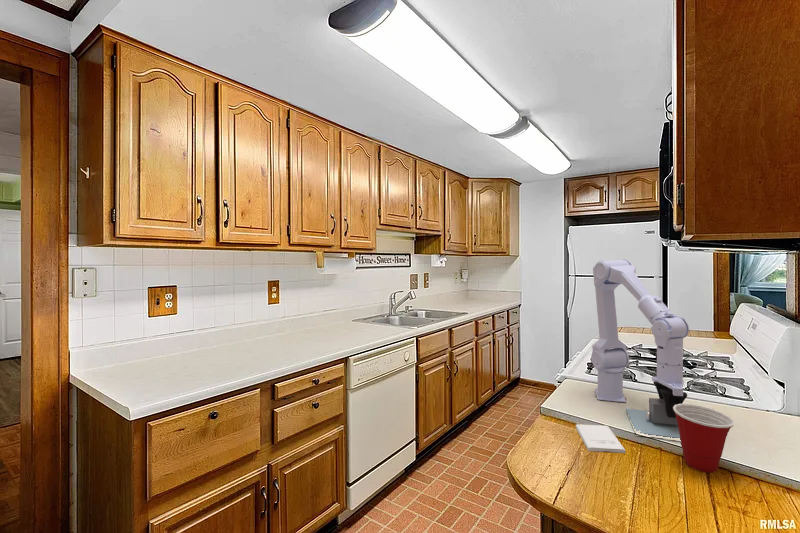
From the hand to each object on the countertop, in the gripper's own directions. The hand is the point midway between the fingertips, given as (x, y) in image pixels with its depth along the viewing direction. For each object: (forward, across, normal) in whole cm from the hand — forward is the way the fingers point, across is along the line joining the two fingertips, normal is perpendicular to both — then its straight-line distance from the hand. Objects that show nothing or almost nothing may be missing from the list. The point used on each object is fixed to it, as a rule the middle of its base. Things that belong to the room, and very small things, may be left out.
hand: (669, 413), depth 106 cm
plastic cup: (+4, +19, +1) cm, 20 cm away
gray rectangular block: (+2, 0, -1) cm, 2 cm away
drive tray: (+4, 0, 0) cm, 4 cm away
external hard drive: (+5, +12, -18) cm, 23 cm away
